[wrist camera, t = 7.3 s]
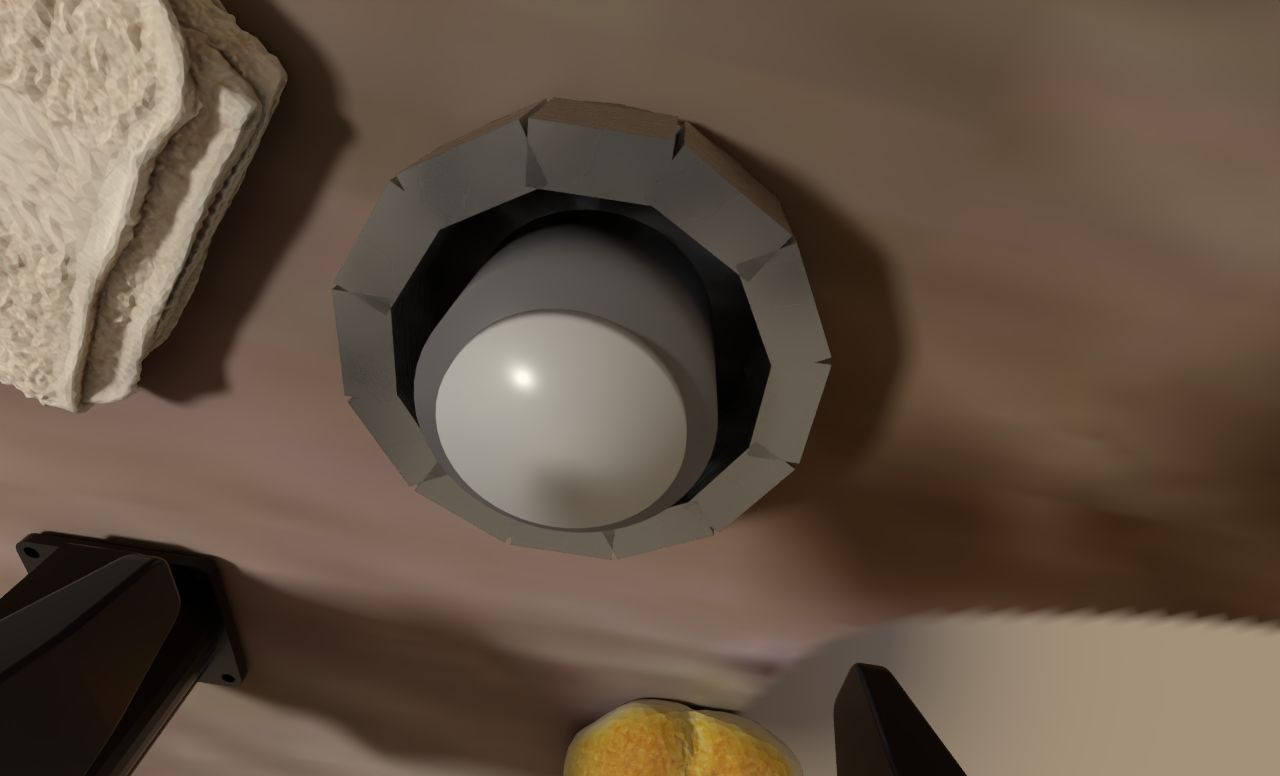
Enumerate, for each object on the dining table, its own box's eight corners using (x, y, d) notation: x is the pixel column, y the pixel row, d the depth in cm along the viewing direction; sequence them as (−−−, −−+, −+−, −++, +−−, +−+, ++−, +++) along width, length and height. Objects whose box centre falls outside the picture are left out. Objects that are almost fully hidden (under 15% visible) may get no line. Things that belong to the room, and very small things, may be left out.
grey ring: (752, 506, 20) (760, 581, 17) (402, 454, 19) (360, 522, 17) (859, 141, 14) (894, 174, 12) (375, 66, 14) (307, 83, 12)
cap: (691, 443, 18) (689, 567, 14) (472, 411, 18) (412, 526, 14) (736, 230, 15) (750, 316, 11) (471, 190, 15) (393, 263, 11)
